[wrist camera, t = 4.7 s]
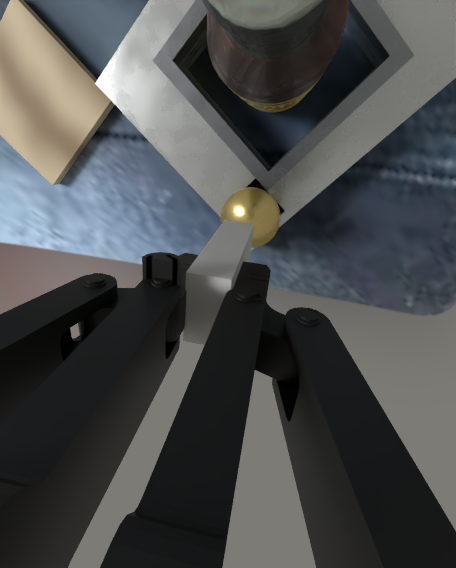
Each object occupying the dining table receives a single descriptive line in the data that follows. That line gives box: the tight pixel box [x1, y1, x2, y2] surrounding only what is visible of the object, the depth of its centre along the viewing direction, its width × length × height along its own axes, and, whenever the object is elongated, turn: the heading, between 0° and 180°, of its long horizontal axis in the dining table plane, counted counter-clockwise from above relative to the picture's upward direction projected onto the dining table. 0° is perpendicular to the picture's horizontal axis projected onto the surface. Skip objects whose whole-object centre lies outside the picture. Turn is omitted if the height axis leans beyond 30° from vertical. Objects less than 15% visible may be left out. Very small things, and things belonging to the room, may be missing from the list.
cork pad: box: [0, 0, 115, 185], centre depth 28 cm, size 10×10×1 cm
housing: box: [95, 0, 456, 251], centre depth 23 cm, size 21×18×4 cm
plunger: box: [221, 187, 280, 248], centre depth 26 cm, size 4×4×4 cm
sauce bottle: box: [202, 0, 349, 113], centre depth 16 cm, size 7×6×20 cm
